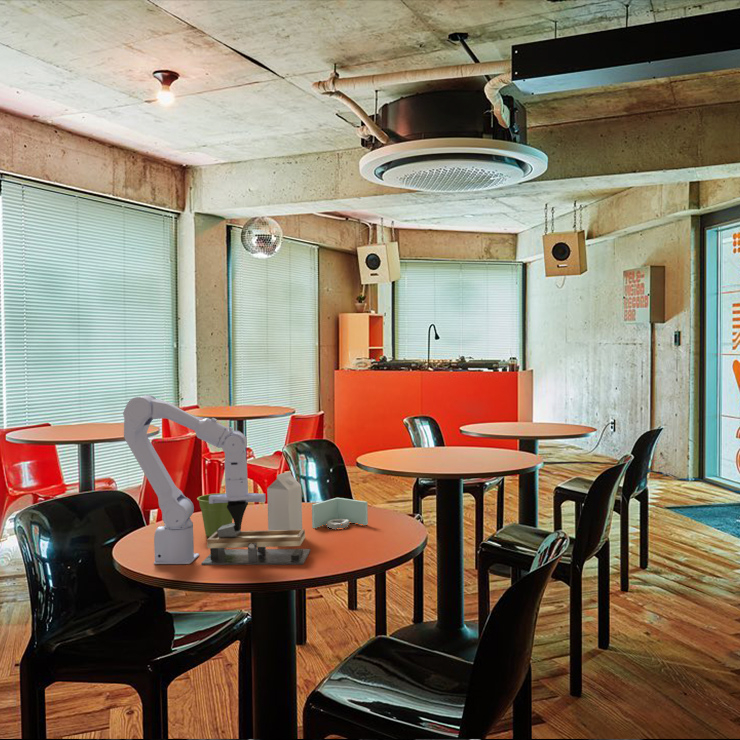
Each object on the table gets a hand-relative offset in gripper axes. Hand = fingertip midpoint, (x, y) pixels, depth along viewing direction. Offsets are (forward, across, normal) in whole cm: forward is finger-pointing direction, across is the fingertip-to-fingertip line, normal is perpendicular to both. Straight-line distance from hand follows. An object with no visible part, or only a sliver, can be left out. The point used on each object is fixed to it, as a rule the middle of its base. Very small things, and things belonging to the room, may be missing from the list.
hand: (238, 530), depth 178 cm
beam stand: (+7, +5, 0) cm, 9 cm away
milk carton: (+8, +9, +18) cm, 21 cm away
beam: (+3, +5, 0) cm, 6 cm away
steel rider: (+2, -2, 0) cm, 3 cm away
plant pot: (+7, -12, +23) cm, 27 cm away
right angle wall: (+8, +23, +31) cm, 40 cm away
